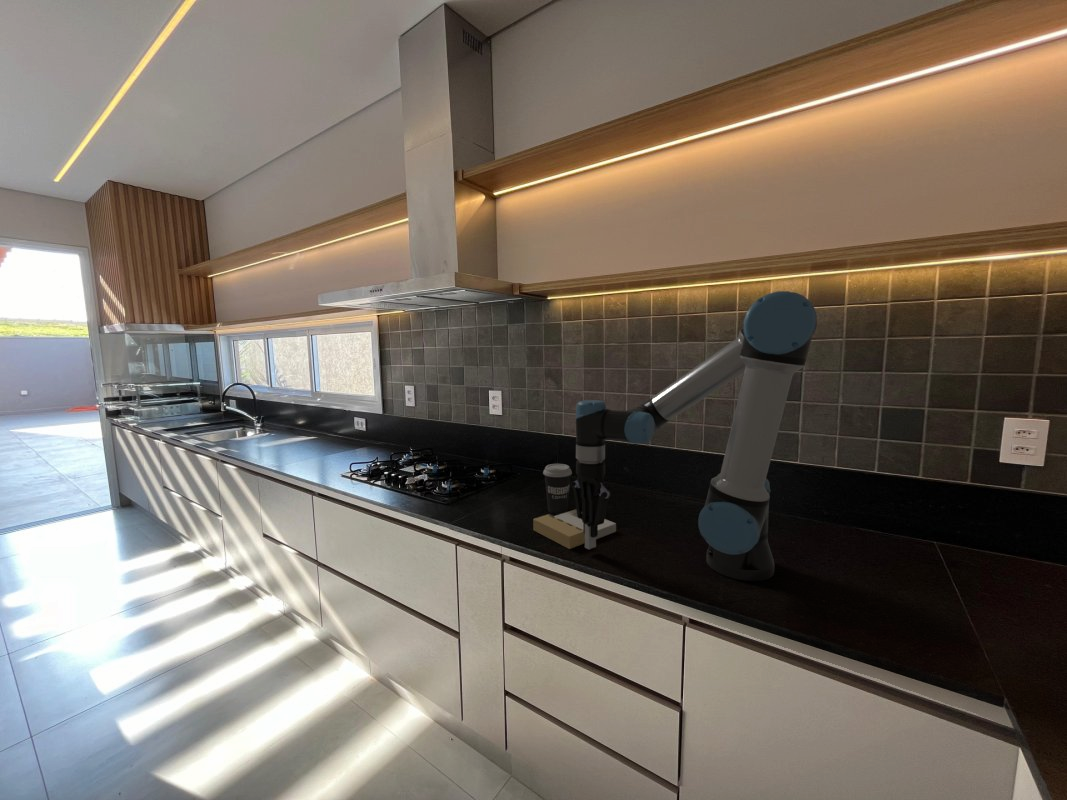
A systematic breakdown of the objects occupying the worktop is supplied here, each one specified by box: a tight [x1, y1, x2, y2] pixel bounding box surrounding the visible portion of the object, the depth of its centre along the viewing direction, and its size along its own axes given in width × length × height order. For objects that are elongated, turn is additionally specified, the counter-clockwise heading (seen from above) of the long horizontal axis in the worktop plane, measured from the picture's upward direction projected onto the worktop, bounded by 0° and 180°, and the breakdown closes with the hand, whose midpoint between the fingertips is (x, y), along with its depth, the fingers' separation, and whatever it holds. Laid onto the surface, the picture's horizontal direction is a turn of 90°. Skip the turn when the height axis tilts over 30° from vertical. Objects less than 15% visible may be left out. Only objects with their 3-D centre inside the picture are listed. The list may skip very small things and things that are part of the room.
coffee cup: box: [542, 463, 573, 515], centre depth 146 cm, size 10×10×15 cm
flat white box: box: [553, 508, 617, 540], centre depth 131 cm, size 16×12×3 cm
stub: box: [532, 513, 585, 550], centre depth 125 cm, size 16×6×4 cm, turn 38°
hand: (590, 547), depth 115 cm, fingers closed
